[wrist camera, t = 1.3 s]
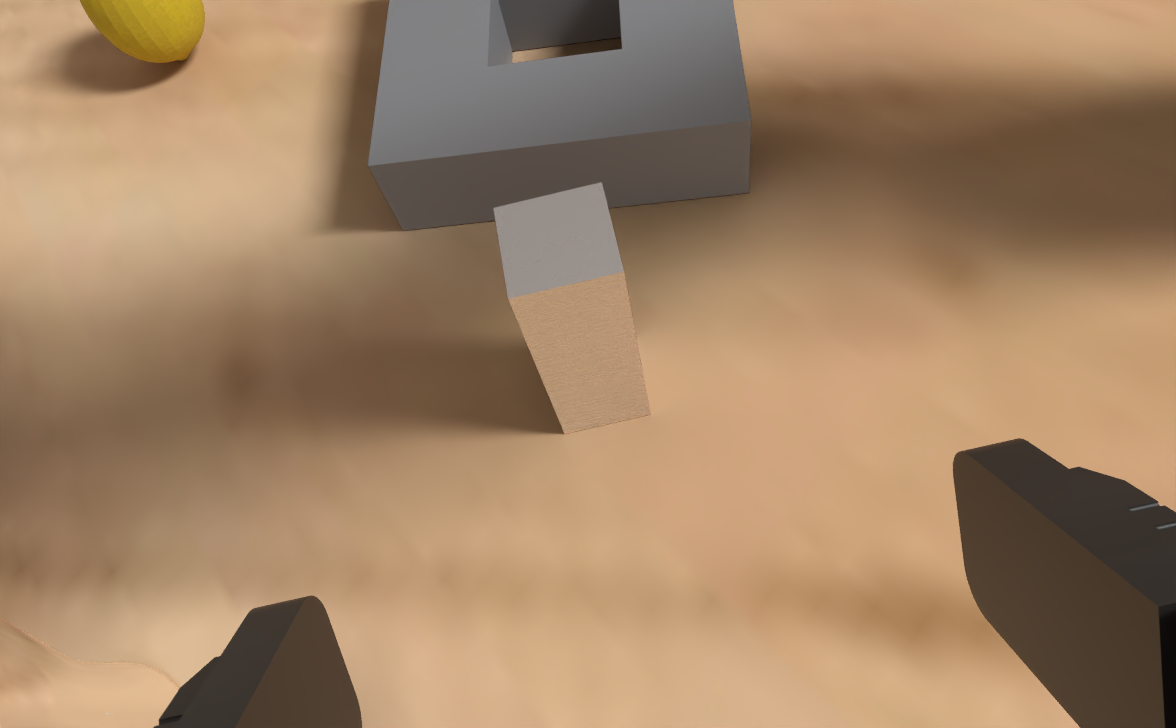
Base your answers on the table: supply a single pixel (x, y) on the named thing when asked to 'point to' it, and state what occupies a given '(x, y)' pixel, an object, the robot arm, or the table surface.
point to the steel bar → (573, 305)
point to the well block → (556, 105)
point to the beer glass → (75, 688)
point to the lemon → (149, 26)
